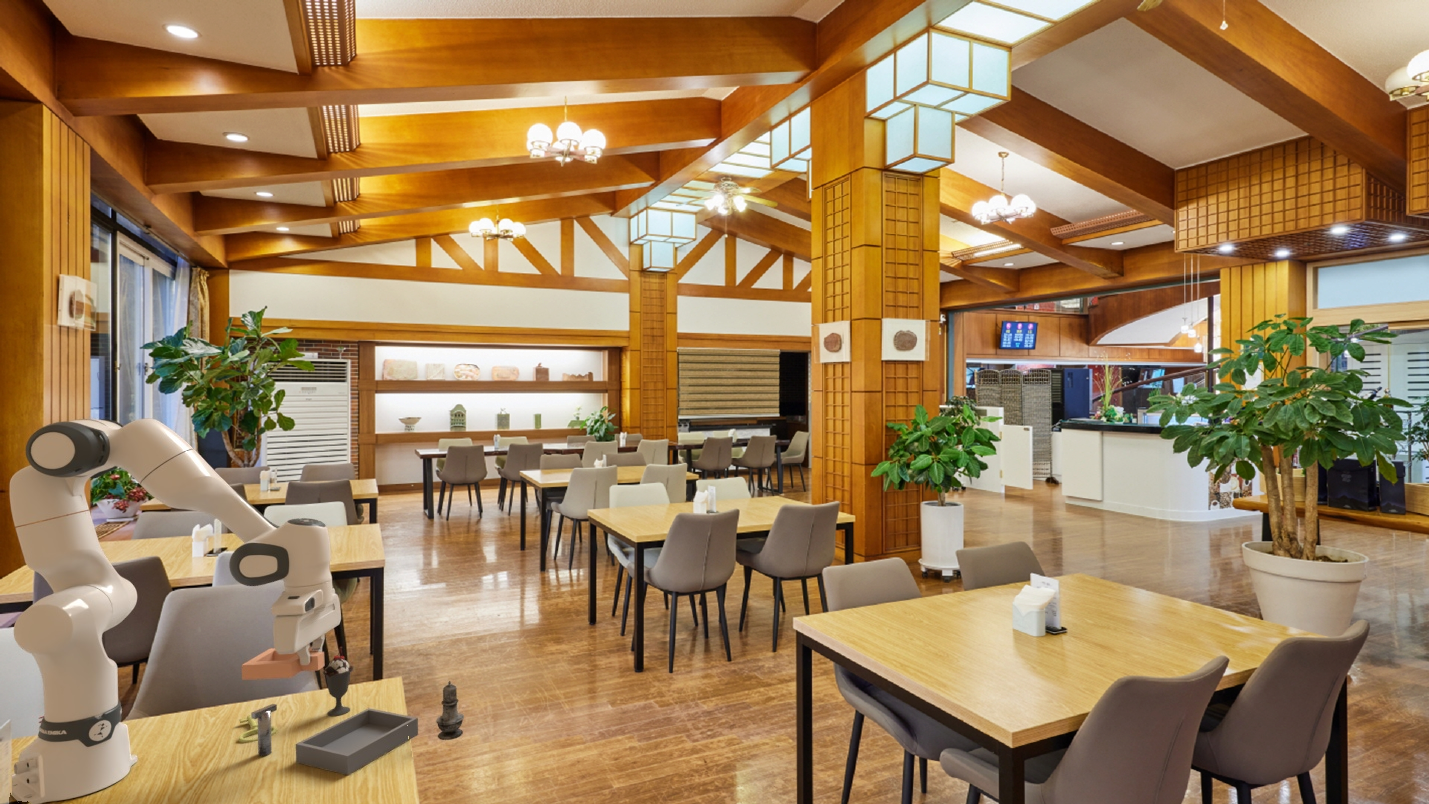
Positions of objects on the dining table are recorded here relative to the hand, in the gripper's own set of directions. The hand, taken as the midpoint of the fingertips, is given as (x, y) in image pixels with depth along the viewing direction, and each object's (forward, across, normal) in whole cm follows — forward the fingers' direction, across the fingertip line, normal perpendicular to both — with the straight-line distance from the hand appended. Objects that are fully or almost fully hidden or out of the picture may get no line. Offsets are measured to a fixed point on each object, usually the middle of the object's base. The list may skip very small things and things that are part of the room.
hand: (311, 660), depth 155 cm
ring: (+2, 0, -5) cm, 5 cm away
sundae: (+20, -21, -5) cm, 30 cm away
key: (+20, -12, -19) cm, 30 cm away
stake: (+20, -1, -11) cm, 22 cm away
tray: (+20, -2, +8) cm, 22 cm away
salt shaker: (+21, -8, +26) cm, 34 cm away
